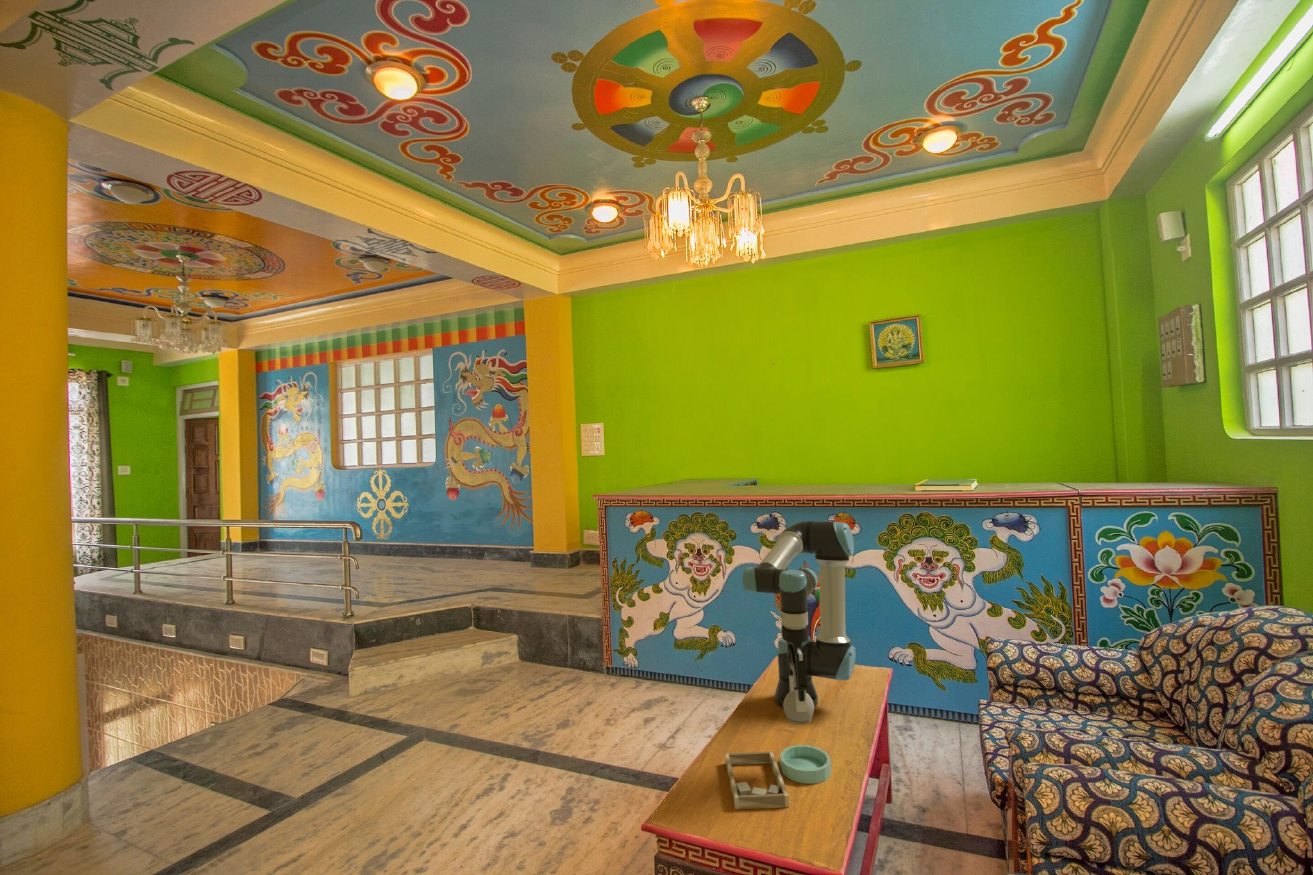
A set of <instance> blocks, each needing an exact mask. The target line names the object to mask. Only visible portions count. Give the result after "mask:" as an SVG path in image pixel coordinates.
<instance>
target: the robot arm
mask: <svg viewBox="0 0 1313 875" xmlns="http://www.w3.org/2000/svg"><path fill="white" fill-rule="evenodd" d="M854 553H855V543H854V536H853V532H852V529H851V527H850V525H849V524H848V523H846V522H841V521H840V522H839V521H815V520H814V521H812V520H811V521H810V520H805V521H800V522H797V523H794V524H792V525H790V526H789V527H787V528H785V529H784V530H782V531H781V533H779V534H778V536H777V538H776V543H775V544H774V545H773V547H772V548H771V549H770V550H769V551H768V553H767V554H766V555H765V556H764V558H763V559H762V560H761V562H759V563H758V565H757V566H755V567H754V566H748V567H745V568H744V570H743V572H742V579H741V580H742V581H741V582H742V586H743V587H742V588H744V590H745V591H746V592H753V593H761V594H762V593H764V594H774V595H776V594H777V595H779V599H780V614H779V615H778V618H781V620H780V622H781V625H782V626H781V637H780V638H779V639H778V641H777V652H776V653H777V662H778V663H777V666H778V682H777V686H776V688H775V692H774V702H775V704H776V705H778V706H780V707H781V708H783V703H784V699H785V697H786V695H787V694H788V693H789V692H791V691H794V690H796V711H797V712H807V707H806V693H807V694H809V696H810V697H811V699H812V700H813V703H814V708H816V707H817V705H818V704H819V698H818V696H819V695H818V693H817V690H816V688H815V684H814V682H813V677H817V678H822V679H823V678H824V679H830V680H835V681H849V680H850V679H851V678H852V675H853V673H854V670H855V664H856V656H857V655H856V654H857V652H856V647H855V646H853V645H851V639H850V638H849V637H848V636H847V633H846V580H845V579H846V578H845V577H846V576H845V575H846V573H845V572H846V571H845V570H846V568H845V567H846V564H847V563H848V562H849V561H850V557H852V556H853V555H854ZM800 554H813V555H814V559H815V561H816V562H817V563H818V564H819V580H818V576H817V574H816V573H815V571H814V570H812V569H811V568H809V567H808V568H807V567H801V568H799V569H787V568H788V566H789V565H790V563H791V562H792V561H793V560H794V558H796V557H797V556H799V555H800ZM818 583H819V624H820V625H819V628H820V629H819V631H820V633H819V634H817V635H816V637H815V641H814V640H813V641H812V639H811V637H810V635H809V627H808V625H809V611H808V598H809V596H811V594H813V593H814V592H815V590H816V589H817V586H818ZM791 662H792V663H793V664H794V670H795V679H796V687H794V683H793V671H792V670H791V667H790V663H791Z"/></svg>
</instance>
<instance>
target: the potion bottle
mask: <svg viewBox="0 0 1313 875" xmlns="http://www.w3.org/2000/svg"><path fill="white" fill-rule="evenodd" d="M790 667H791V670H792V671H793V683H794V687H796V679H795V670H794V664H793V663H792V662H791V663H790ZM806 707H807V712H797V711H796V690H794V691H791V692H789V693H788V694H787V695H786V697H785V699H784V703H783V707H782V708H783V711H784V714H785V717H786V718H787V721H788V722H790V723H792V724H794V725H800V726H801V725H803V726H804V725H808V724H809V723H811V721H812V719H813V716H814V711H815V707H814V703H813V700H812V699H811V697H810V696H809V694H807V693H806Z"/></svg>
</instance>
